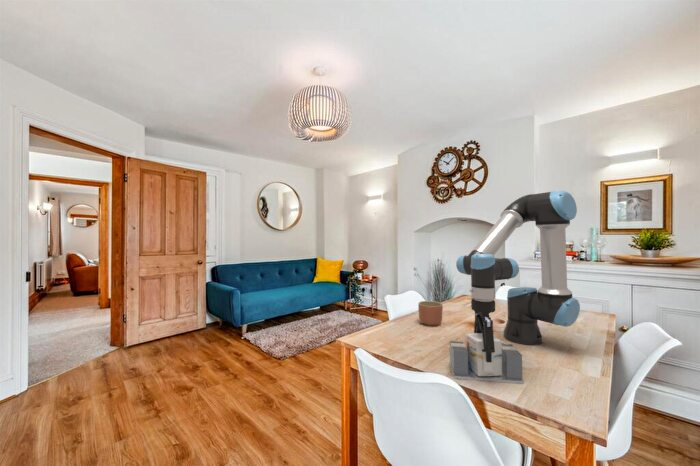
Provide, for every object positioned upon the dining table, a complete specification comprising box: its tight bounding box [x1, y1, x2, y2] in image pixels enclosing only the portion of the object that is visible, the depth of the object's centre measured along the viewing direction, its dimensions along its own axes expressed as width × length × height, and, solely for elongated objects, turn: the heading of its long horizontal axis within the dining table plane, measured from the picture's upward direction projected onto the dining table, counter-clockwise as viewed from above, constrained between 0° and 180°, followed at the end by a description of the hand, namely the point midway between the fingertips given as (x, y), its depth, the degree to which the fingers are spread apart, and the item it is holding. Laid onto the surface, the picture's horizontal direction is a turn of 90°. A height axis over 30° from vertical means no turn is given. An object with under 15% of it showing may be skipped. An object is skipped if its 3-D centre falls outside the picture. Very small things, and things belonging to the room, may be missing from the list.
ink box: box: [466, 332, 503, 376], centre depth 101 cm, size 9×8×12 cm
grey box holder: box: [449, 340, 524, 385], centre depth 101 cm, size 21×11×9 cm, turn 79°
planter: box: [417, 300, 444, 327], centre depth 155 cm, size 12×12×11 cm
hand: (483, 363), depth 101 cm, fingers open, 10 cm apart
